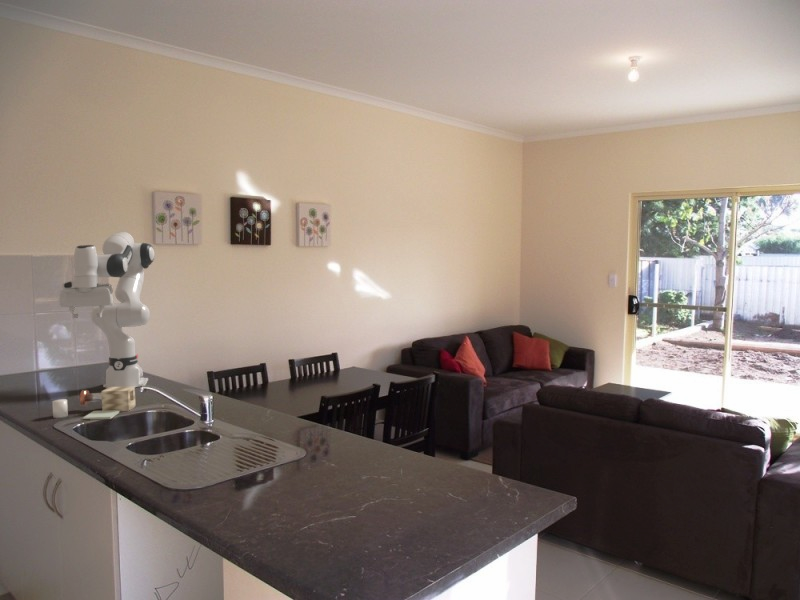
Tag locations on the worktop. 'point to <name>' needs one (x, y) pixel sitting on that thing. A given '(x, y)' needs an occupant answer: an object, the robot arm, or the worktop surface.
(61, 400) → the spacer
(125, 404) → the bearing block
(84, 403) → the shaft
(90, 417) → the pad
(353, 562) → the worktop surface
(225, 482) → the worktop surface
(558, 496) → the worktop surface
